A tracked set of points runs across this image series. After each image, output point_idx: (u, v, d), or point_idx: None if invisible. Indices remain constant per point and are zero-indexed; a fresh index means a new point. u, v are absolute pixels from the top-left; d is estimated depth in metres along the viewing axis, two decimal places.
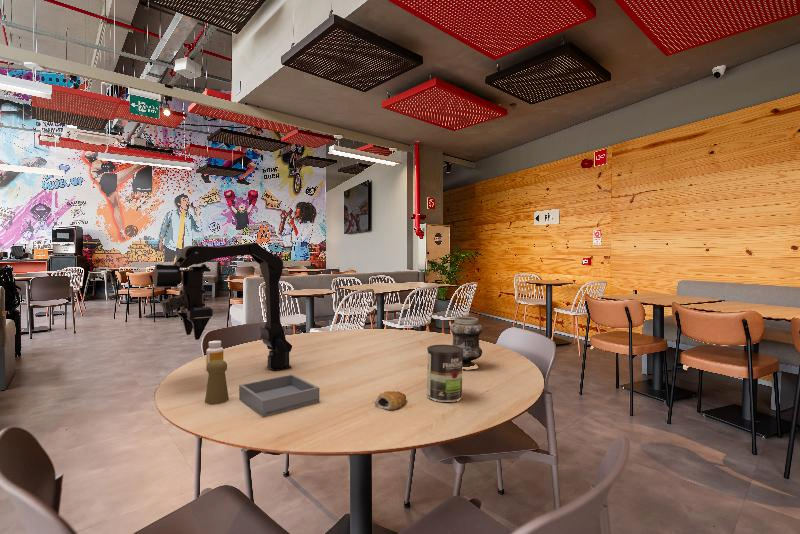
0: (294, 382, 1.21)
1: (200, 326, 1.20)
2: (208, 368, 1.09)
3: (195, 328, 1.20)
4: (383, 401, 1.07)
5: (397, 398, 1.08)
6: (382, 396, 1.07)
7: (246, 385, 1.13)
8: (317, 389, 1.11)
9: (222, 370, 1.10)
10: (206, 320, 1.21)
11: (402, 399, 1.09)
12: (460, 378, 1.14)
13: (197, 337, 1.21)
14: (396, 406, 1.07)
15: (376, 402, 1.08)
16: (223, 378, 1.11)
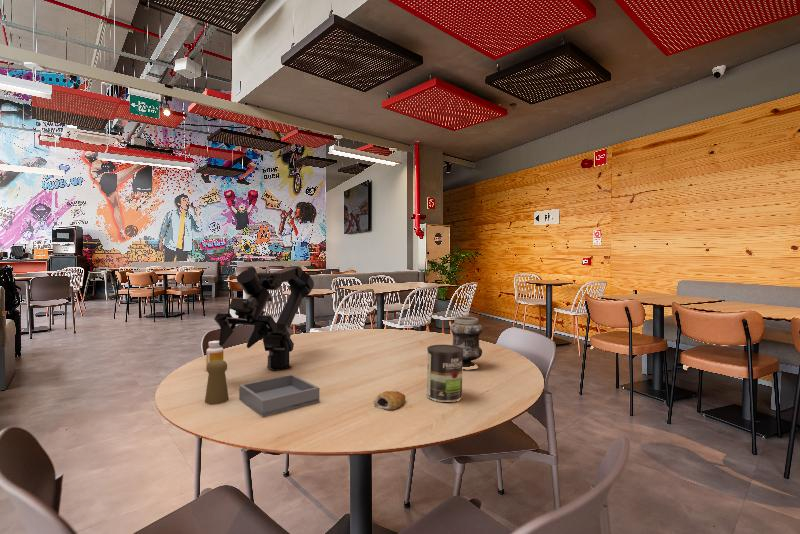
0: (294, 382, 1.21)
1: (257, 336, 1.20)
2: (208, 368, 1.09)
3: (255, 335, 1.19)
4: (382, 401, 1.07)
5: (396, 398, 1.08)
6: (381, 396, 1.08)
7: (246, 385, 1.13)
8: (317, 389, 1.11)
9: (222, 370, 1.10)
10: (264, 334, 1.22)
11: (401, 399, 1.10)
12: (460, 378, 1.14)
13: (250, 345, 1.18)
14: (395, 406, 1.07)
15: (375, 402, 1.08)
16: (223, 378, 1.11)
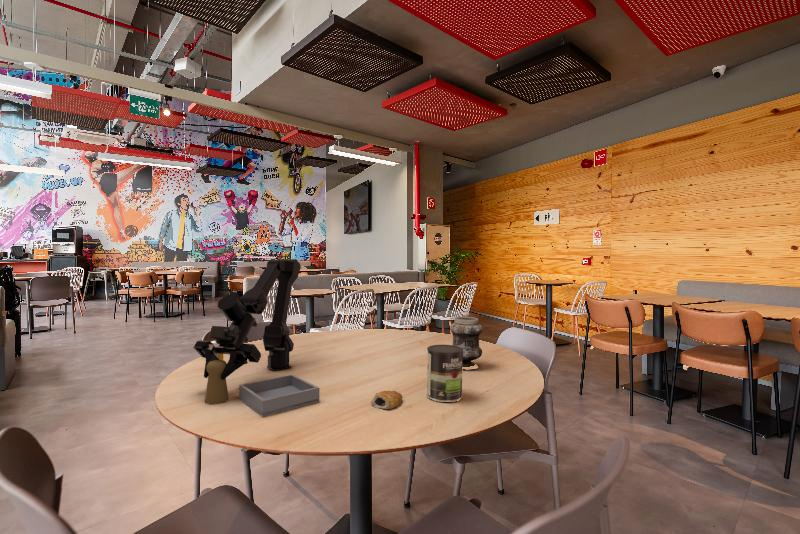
0: (294, 382, 1.21)
1: (233, 366, 1.12)
2: (208, 368, 1.09)
3: (230, 365, 1.11)
4: (380, 401, 1.08)
5: (394, 397, 1.09)
6: (378, 396, 1.08)
7: (246, 385, 1.13)
8: (317, 389, 1.11)
9: (222, 370, 1.10)
10: (241, 364, 1.14)
11: (398, 398, 1.10)
12: (460, 378, 1.14)
13: (224, 376, 1.10)
14: (393, 405, 1.07)
15: (373, 402, 1.09)
16: None
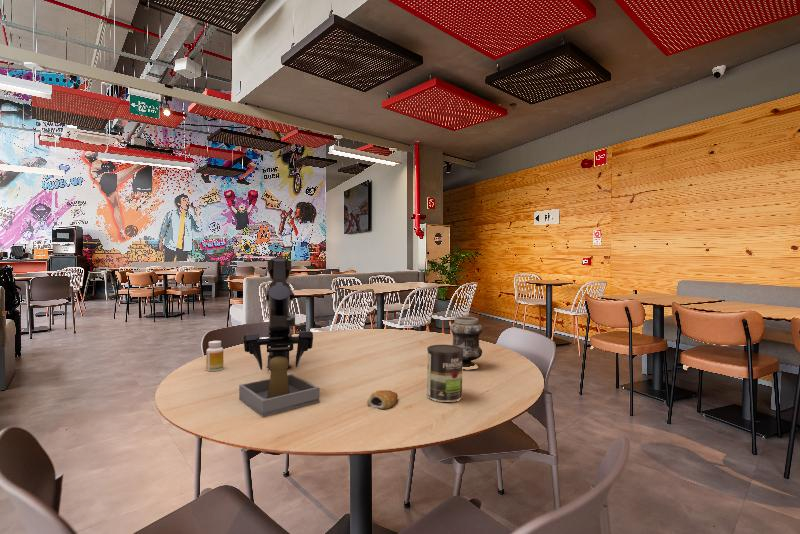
0: (294, 382, 1.21)
1: None
2: (276, 365, 1.09)
3: (300, 353, 1.14)
4: (376, 400, 1.08)
5: (390, 397, 1.09)
6: (375, 396, 1.08)
7: (246, 385, 1.13)
8: (317, 389, 1.11)
9: (287, 365, 1.12)
10: (302, 351, 1.18)
11: (394, 398, 1.10)
12: (460, 378, 1.14)
13: None
14: (389, 405, 1.08)
15: (369, 401, 1.09)
16: None
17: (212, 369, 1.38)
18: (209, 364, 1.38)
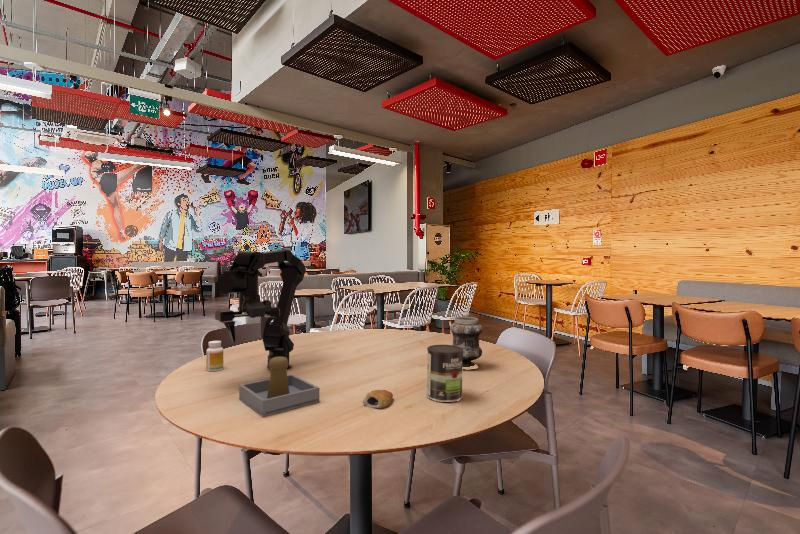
0: (294, 382, 1.21)
1: None
2: (276, 365, 1.09)
3: None
4: (372, 400, 1.08)
5: (386, 396, 1.09)
6: (371, 395, 1.08)
7: (246, 385, 1.13)
8: (317, 389, 1.11)
9: (287, 365, 1.12)
10: None
11: (390, 397, 1.11)
12: (460, 378, 1.14)
13: None
14: (385, 404, 1.08)
15: (365, 401, 1.09)
16: (286, 373, 1.13)
17: (212, 369, 1.38)
18: (209, 364, 1.38)
